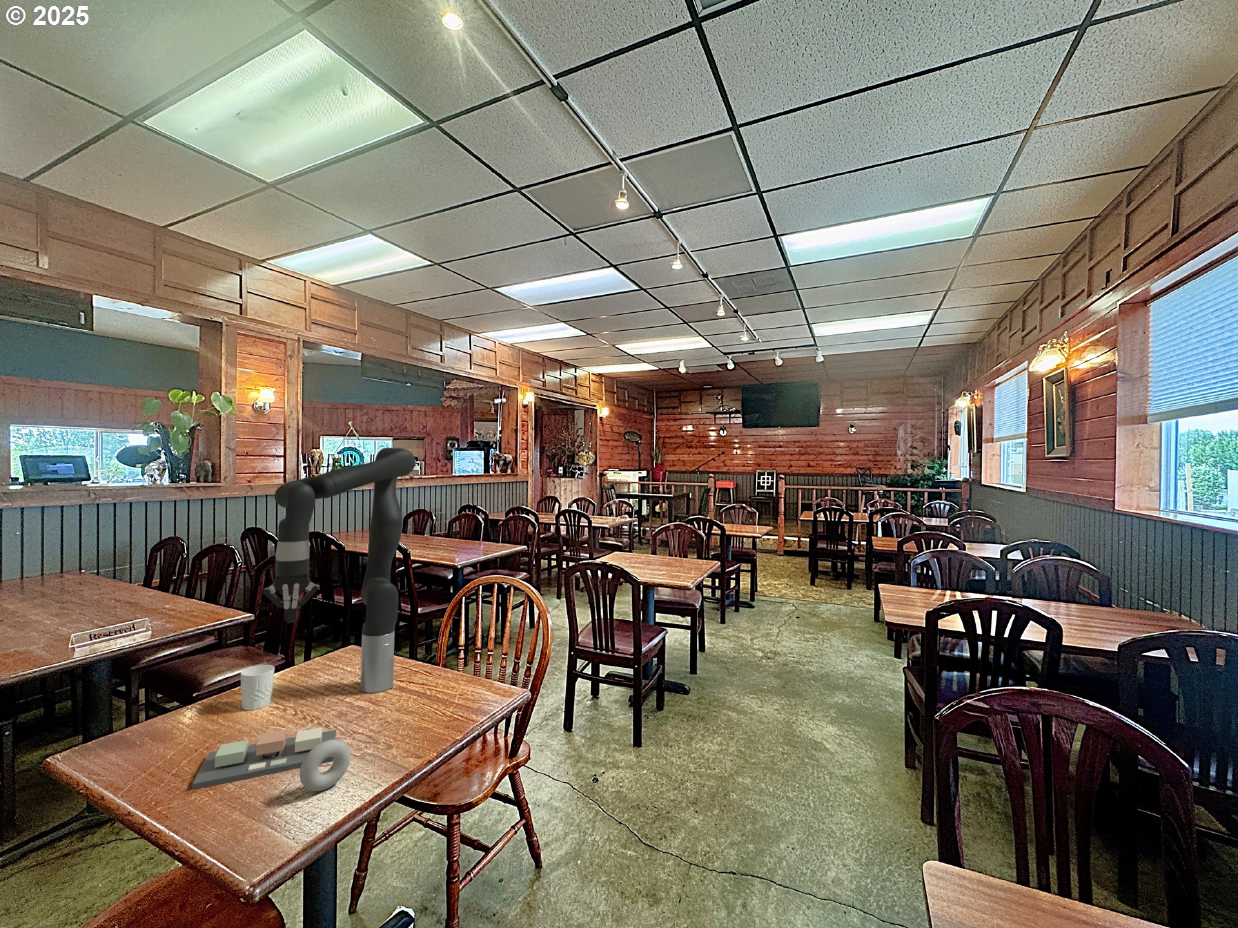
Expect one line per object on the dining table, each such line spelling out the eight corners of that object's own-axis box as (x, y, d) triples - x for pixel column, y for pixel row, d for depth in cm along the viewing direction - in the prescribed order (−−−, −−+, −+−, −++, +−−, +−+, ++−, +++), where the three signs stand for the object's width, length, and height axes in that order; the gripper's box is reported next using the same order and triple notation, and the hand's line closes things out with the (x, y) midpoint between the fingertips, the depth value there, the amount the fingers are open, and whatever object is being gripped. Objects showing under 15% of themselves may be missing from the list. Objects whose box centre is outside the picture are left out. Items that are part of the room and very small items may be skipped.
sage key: (247, 756, 119) (248, 739, 119) (243, 768, 114) (243, 751, 114) (220, 761, 116) (221, 744, 116) (214, 773, 112) (215, 756, 112)
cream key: (321, 742, 125) (322, 726, 126) (320, 753, 121) (320, 737, 121) (297, 746, 123) (297, 731, 123) (294, 758, 118) (295, 741, 119)
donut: (345, 774, 114) (347, 729, 114) (352, 780, 112) (354, 735, 112) (295, 795, 106) (297, 747, 106) (302, 802, 104) (303, 754, 104)
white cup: (260, 712, 140) (261, 676, 141) (232, 710, 141) (233, 674, 141) (279, 699, 148) (280, 665, 148) (253, 698, 148) (254, 664, 149)
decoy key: (286, 745, 122) (286, 729, 122) (282, 756, 117) (283, 740, 118) (260, 749, 120) (260, 733, 120) (255, 761, 115) (256, 744, 115)
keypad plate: (335, 734, 130) (336, 728, 130) (333, 760, 119) (333, 754, 119) (209, 757, 119) (209, 750, 119) (192, 789, 107) (192, 782, 107)
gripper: (322, 553, 142) (320, 615, 142) (265, 556, 136) (263, 620, 136) (320, 558, 135) (317, 623, 135) (260, 561, 129) (257, 628, 129)
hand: (290, 621), depth 135 cm, fingers closed
